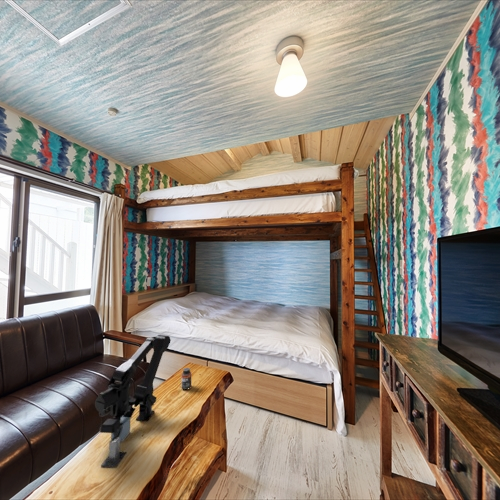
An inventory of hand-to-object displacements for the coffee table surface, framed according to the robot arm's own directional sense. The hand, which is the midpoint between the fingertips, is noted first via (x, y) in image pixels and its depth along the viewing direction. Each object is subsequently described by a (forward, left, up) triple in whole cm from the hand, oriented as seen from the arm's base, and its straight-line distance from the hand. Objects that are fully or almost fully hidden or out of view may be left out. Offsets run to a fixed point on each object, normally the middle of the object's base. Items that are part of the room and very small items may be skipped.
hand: (120, 433), depth 94 cm
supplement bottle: (-38, +16, -2) cm, 41 cm away
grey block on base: (0, 0, -1) cm, 1 cm away
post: (+11, +5, -1) cm, 12 cm away
